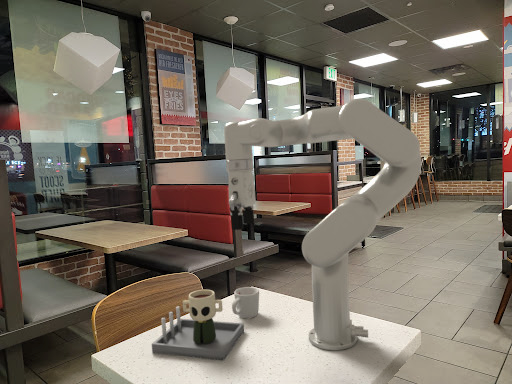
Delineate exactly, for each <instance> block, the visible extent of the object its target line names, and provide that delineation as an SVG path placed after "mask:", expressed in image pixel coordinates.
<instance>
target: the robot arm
mask: <svg viewBox="0 0 512 384" xmlns="http://www.w3.org/2000/svg"><path fill="white" fill-rule="evenodd" d="M223 131H224V133H223V134H224V147H225V148H224V149H225V160H226V161H225V162H226V173H228V204H229V205H228V206H229V211H230V212H229V214H230V220H231V222H230V223H231V230H232V231H242V230H244V225H246V224H249V225H250V224H254V223H255V219H254V218H255V217H254V215H255V214H254V204H256V202H257V201H256V191H255V182H254V174H253V171H254V159H253V157H254V156H253V147H260V148H261V147H264V148H276V147H277V148H278V147H284V146H285V147H286V146H293V145H295V146H296V145H300V144H301V145H302V144H311V145H312V144H316V143H325V142H332V141H333V142H334V141H340V140H341V141H342V140H343V141H344V140H354V141H356V142H357V143H358V144H360V145H361V146H362V147H364V148H365V149H366V150H368V151H369V152H370V153H372V154H373V155H374V156H375V157H377V158H379V159H380V160H381V161H382V162H384V164H383V166H382V169H381V170H380V171H379V172H378V173H377V174H376V175H374V176H373V177H372V178H371V180H370V181H369V180H368V182H367V183H366V184H365V185H364V186H363V187H361V189H359V190H358V191H357V192H355V194H353V195H351V196H350V197H348V198H346V199H344V201H342V202H340V204H339V205H338V206H336V208H334V209H333V210H331V212H330V213H329V214H328V215H326V216H325V217H324V218H323V219H322V220H320V221H319V223H317V224H316V225H315V226H314V227H313V228H312V229H311V230H310V231H308V232H307V234H305V236H304V238H303V240H302V243H301V252H302V255H303V257H304V259H305V261H306V262H307V263H309V264H310V265H311V289H312V290H311V291H312V309H313V310H312V311H313V313H312V314H313V328H312V329H311V330H310V331H309V333H308V340H309V341H308V342H310V344H312V345H313V346H314V347H316V348H320V349H323V350H326V351H327V350H328V351H340V350H342V351H343V350H347V349H349V348H351V347H353V346H355V344H356V343H357V342H358V340H357V339H358V337H360V338H369V329H364V328H365V327H364V325H355V324H353V320H352V319H351V309H350V291H349V288H350V287H349V282H350V280H349V253H350V252H351V251H352V250H353V249H354V248H355V247H357V246H358V245H360V244H361V243H362V242H364V241H365V240H366V239H367V238H368V237H369V235H371V234H372V233H373V231H374V230H375V228H376V227H377V224H378V223H379V221H380V220H381V219H382V218H383V217H384V216H386V214H388V213H389V212H390V211H391V210H392V209H394V208H395V206H396V205H397V204H399V203H400V202H401V201H403V199H404V198H405V197H406V196H407V195H408V194H409V193H410V192H411V191H412V189H413V188H414V187H415V185H416V184H417V182H418V179H419V176H420V174H421V170H422V169H421V168H422V156H421V151H420V150H421V145H420V140H419V138H418V137H417V135H416V134H415V133H414V132H413V131H411V130H410V129H409V128H407V127H406V126H404V125H403V124H401V123H400V122H398V121H397V120H396V119H394V118H393V117H391V116H390V115H388V114H387V113H386V112H384V111H383V110H382V109H380V108H378V107H377V106H376V105H375V104H374V103H372V101H369V100H367V99H364V98H355V99H352V100H349V101H348V102H346V103H345V104H343V105H342V104H341V105H337V106H331V107H324V108H313V109H311V110H308V111H307V112H306V113H304V114H302V115H301V116H297V117H293V118H286V119H279V120H272V119H267V118H262V117H257V118H253V119H252V118H251V119H250V120H245V121H231V122H228V123H226V124H225V125H224V128H223Z"/></svg>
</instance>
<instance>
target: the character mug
mask: <svg viewBox="0 0 512 384" xmlns="http://www.w3.org/2000/svg"><path fill="white" fill-rule="evenodd" d="M216 304H218V308H217V307H216V306H217V305H216ZM187 305H188V306H189V307H188V308H187ZM182 309H183V310H182V311H183V312H184V313H189V317H190V318H191V319H192V320H195V321H194V331H193V341H194V342H195V343H198V344H200V340H203V342H204V344H206V343H210V342H212V341H214V339H215V338H216V332H215V327H214V322H213V321H214V317H215V316H216V314H217V313H220V312H223V300H221V299H216V294H215V291H214V290H211V289H199V290H198V289H197V290H194V291H191V292H190V293H188V300H186V299H185V300H182Z"/></svg>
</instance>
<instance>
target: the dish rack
mask: <svg viewBox="0 0 512 384" xmlns="http://www.w3.org/2000/svg"><path fill="white" fill-rule="evenodd" d="M175 311H176V312H175V313H176V322H175V323H174V313H173V311H169V312H168V318H169V328H168V330H167V324H166V323H167V322H166V317H161V329H162V330H161V332H162V335H160V336H158V338H157V339H156V340H154V341H153V342H152V343H151V352H152V354H156V355H166V356H172V357H173V356H174V357H184V358H192V359H203V360H211V361H220V362H223V361H225V359H226V358H227V356H228V355H229V354H230V352H231V351H232V350H233V348H234V347H235V345H237V343H238V341H239V339H241V337H242V336H243V334H244V332H245V325H244V323H242V322H229V321H219V320H218V321H214V320H213V322H214V327H215V332H216V338H215V339H214V341H212V342H210V343H206V344H204V342H203V340H200V344H198V343H195V342H194V341H193V331H194V321H195V320H193V319H192V318H191V319H190V318H181V307H180V306H179V305H178V306H176V307H175Z"/></svg>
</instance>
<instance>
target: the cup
mask: <svg viewBox="0 0 512 384" xmlns="http://www.w3.org/2000/svg"><path fill="white" fill-rule="evenodd" d="M233 293H234V294H233V295H234V300H233V302H232V304H231V309H232V314H234V315H238V316H239V317H240V318H243V319H252V318H255V317H256V316H258V314H259V309H260V308H259V306H260V304H259V303H260V290H259V288H257V287H253V286H246V287H245V286H244V287H239V288H236V289H235V291H233Z"/></svg>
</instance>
